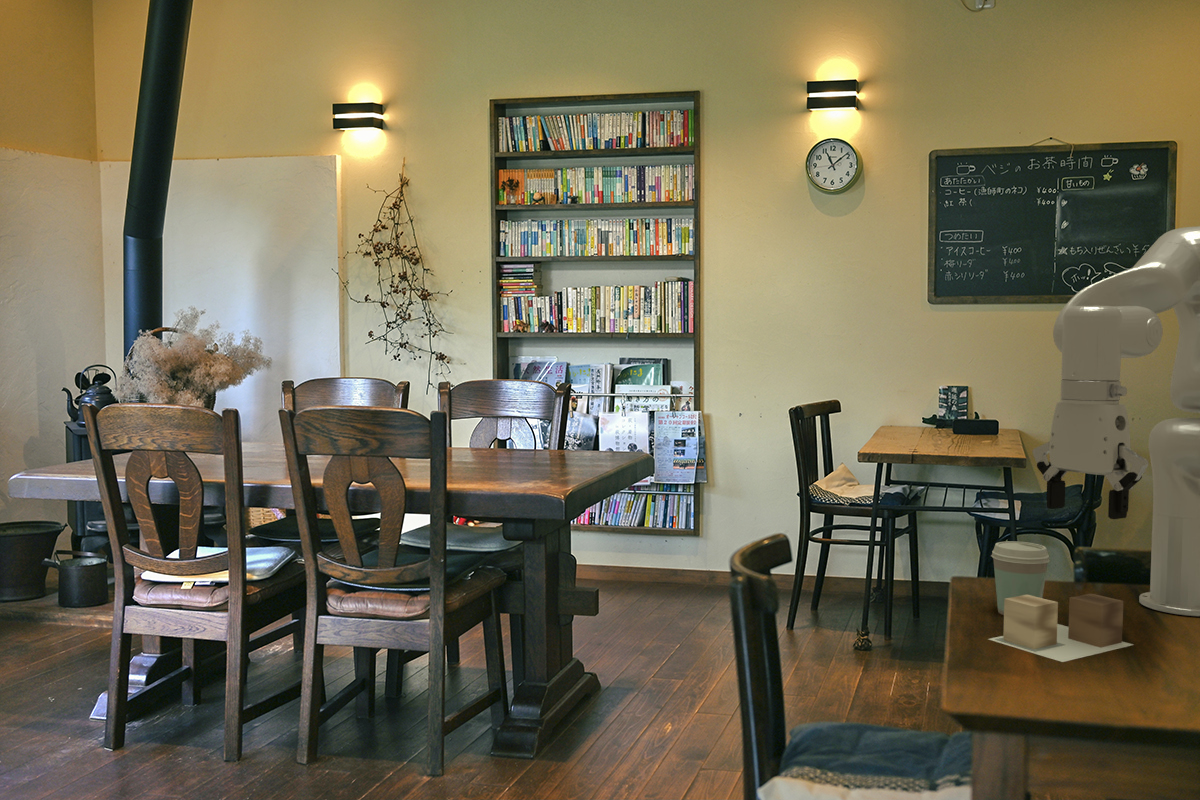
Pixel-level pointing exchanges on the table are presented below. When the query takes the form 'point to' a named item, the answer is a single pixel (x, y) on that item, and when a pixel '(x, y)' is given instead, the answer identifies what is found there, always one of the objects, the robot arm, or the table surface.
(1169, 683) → the table surface
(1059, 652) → the build board
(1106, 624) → the walnut block
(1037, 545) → the coffee cup
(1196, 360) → the robot arm
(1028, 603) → the beech block
